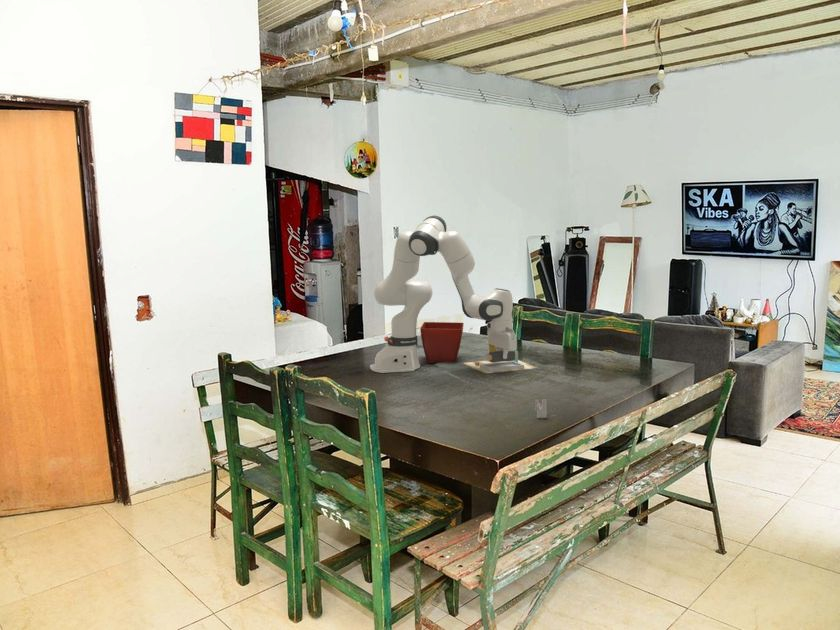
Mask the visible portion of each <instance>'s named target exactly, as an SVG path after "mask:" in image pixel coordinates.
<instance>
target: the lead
mask: <svg viewBox="0 0 840 630" xmlns="http://www.w3.org/2000/svg"><path fill="white" fill-rule="evenodd" d="M502 354H503V351H496V352H490V351H489V353H488V354H487V357H486V358H487V359H486V360H489V361H490V362H492V363H493V362H502V361H512V360H515V358H517V353H516V352H515V351H508V354H507V359H503V358H502Z"/></svg>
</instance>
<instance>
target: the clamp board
mask: <svg viewBox="0 0 840 630" xmlns="http://www.w3.org/2000/svg"><path fill="white" fill-rule="evenodd" d="M512 361H513V360H512ZM502 362H508V361H502ZM489 363H492V362H490V361H489V360H488V359H486V360H478V361H476V360H475V361H469V362H467V361H466V362H462V365H463V364H464V365H465V366H468V367H470V368H472V369H474V370H476V371H478V372H480V373H483V374H494V373H504V372H512V371H520V370H530V369H531V370H533V369H538V367H537V366H534V364H533V365H532V364H530V363H527V362H524V361H522V360H519V359H518V363H520V364H523V365H524V369H516V370H507V371H498V372H487V371H485V370H483V369H481V368H480V364H489ZM493 363H498V362H493Z"/></svg>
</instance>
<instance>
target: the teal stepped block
mask: <svg viewBox="0 0 840 630" xmlns="http://www.w3.org/2000/svg"><path fill="white" fill-rule="evenodd" d="M515 352H516V353H517V358H515V360H513V361H515V362H518V360H519V351H518V350H517V349H516V350H515Z"/></svg>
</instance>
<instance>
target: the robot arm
mask: <svg viewBox="0 0 840 630" xmlns="http://www.w3.org/2000/svg"><path fill="white" fill-rule="evenodd" d="M394 246H395V247H394V253H393V263H392V266H391V267H392V268H391V271H390V272H389V274H387V276H386V277H385V278H384V279H383V280H381V281H380V282H378V283H377V284H376V286H375V287H374V292H373V295H374V299H375V300H376V302H377V303H378V304H379V305H382V306H395V307H396V306H404V308H403V309H402V311H401V312H398V313H397V314H395V315H394V316H393V317H392V318H391V323H390V325H391V335H390V336H389V337H388V336H384V341H385V342H387V345H386V346H385V347H383V348H382V349H381V350H380V351H378V352H377V353H376V355H375V357H374V363H373V364H370V365H369V369H370V370H371V371H372V372H375V373H380V374H385V373H386V374H387V373H401V372H402V373H403V372H404V373H406V372H415V370H418V369H420V368H421V364H420V361H419V356H418V355H419V354H418V345H419V343H418V342H419V341H418V335H417V326H418V325H417V324H418V323H417V322H418V317H419V314H420V312H421V311H422V310H423V308H424V306H425V305H427V304H428V303H429V302H430V301H431V299H432V297H433V288H432V285H431V284H430V282H428V281H425V280H420V279H413V278H414V277H416V275H417V274H418V273H419V268H420V259H421V257H425V256H426V257H427V256H433V255H436V254H437V253H440V255H441V256H442V257H443V259H444V261H445V263H446V265H447V268H448V269H449V271H450V274H451V277H452V280H453V283H454V285H455V287H456V290H457V292H458V295H459V298H460V300H461V309H462V312H463V314H464V315H465V316H466V317H467V318H469V319H478V320H482V321H489V322H487V323H486V328H487V331H486V332H487V342H488V345H489V344H492V345H494V346H496V351H501V348H503V354H502V358H503V359H507V354H508V351H515V350H516V351H517V348H518V343H517V335H516V332H515V331H514V329H513V326H514V324H513V321H514V320H513V307H514V306H513V305H514V303H513V301H514V300H513V295H512V294H513V293H512V292H511V291H510V290H509V289H505V288H504V289H503V288H498V287H497V288H494V289H493V290H492V291H491V292H490V293H488V294H487V295H485V296H480V295H478V294H476V292H475V291H474V289H473V287H472V284H471V282H470V279H469V274H471V273H472V271H473V270H474V268H475V264H476V263H475V262H476V261H475V259H474V256H473V255H474V254H473V253H472V251H471V250H470V248H469V246H468V244H467V242H466V241H465V239H464V238H463V237H462V235H461V234H460V233H459V232H458V231H456V230H448V231H447V223H446V221H445V219H443V217H441V216H438V215H431V216H430V215H429V216H428V217H426V218H425V219H423V220H422V222H421V223H419V224H418V225H417V227H416V229H415V230H414V231H413V230H405V231H404V230H403V231H402V232H400V233H399V234H398V236H397V239H396V242H395V245H394ZM412 279H413V280H412Z"/></svg>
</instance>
